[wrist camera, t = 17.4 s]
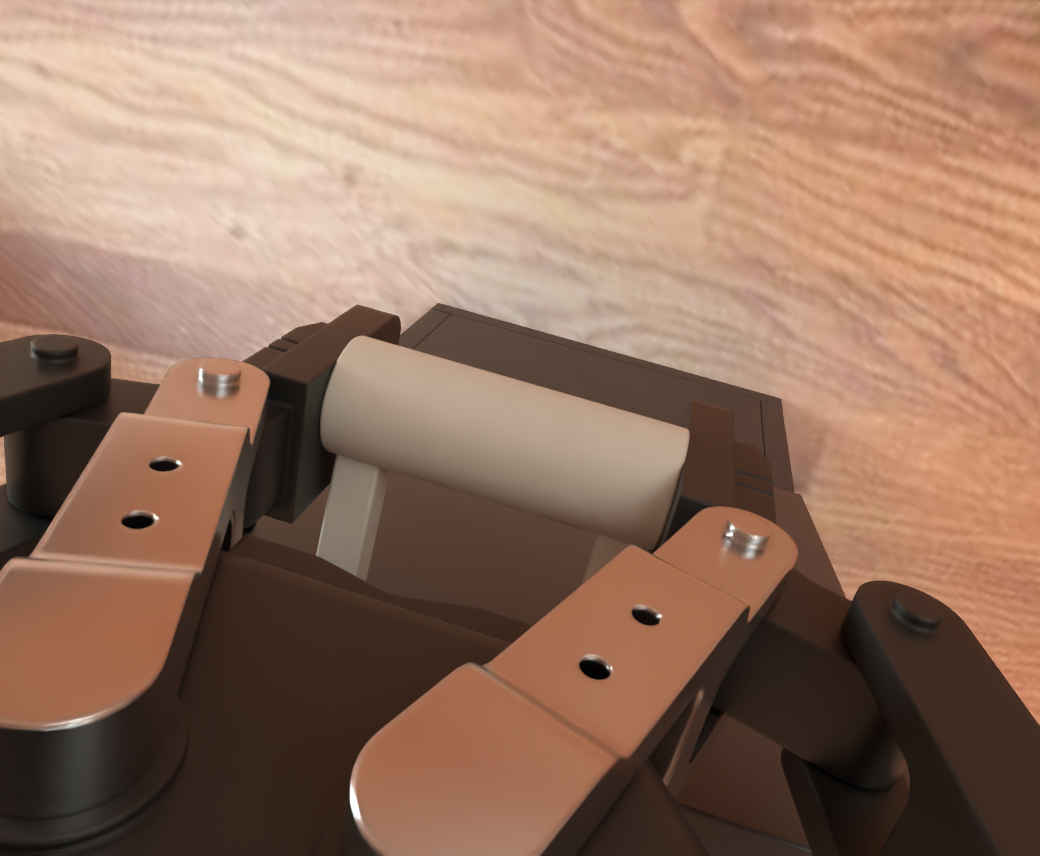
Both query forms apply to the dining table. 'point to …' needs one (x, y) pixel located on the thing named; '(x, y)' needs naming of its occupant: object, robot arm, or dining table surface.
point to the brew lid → (525, 527)
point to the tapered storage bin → (600, 377)
